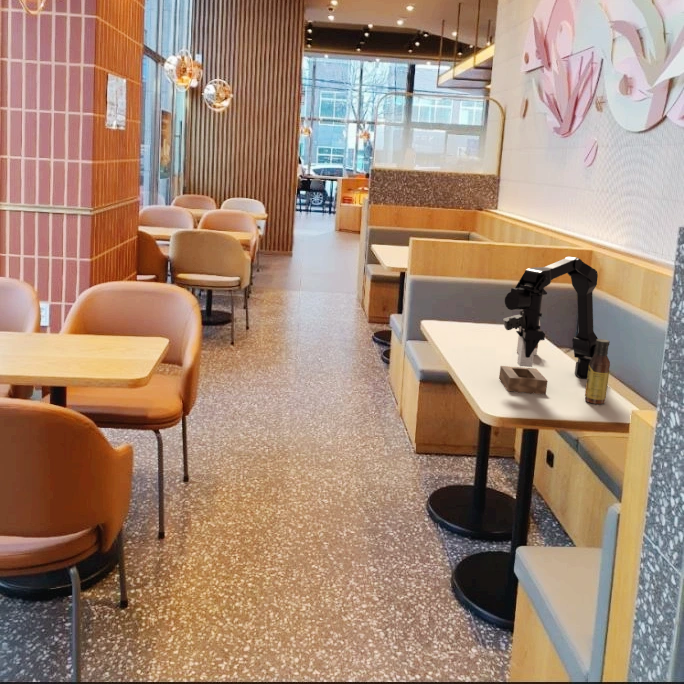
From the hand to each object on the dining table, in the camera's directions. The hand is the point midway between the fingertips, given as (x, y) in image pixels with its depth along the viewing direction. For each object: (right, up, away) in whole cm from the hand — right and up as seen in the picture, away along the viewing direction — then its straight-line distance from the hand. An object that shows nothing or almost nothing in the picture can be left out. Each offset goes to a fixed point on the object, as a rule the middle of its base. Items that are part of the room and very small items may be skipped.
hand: (525, 355), depth 272 cm
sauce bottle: (+19, -14, -10) cm, 26 cm away
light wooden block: (0, -3, +1) cm, 3 cm away
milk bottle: (+12, 0, +54) cm, 55 cm away
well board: (-1, -10, +2) cm, 10 cm away
